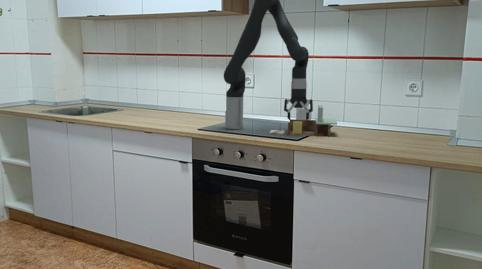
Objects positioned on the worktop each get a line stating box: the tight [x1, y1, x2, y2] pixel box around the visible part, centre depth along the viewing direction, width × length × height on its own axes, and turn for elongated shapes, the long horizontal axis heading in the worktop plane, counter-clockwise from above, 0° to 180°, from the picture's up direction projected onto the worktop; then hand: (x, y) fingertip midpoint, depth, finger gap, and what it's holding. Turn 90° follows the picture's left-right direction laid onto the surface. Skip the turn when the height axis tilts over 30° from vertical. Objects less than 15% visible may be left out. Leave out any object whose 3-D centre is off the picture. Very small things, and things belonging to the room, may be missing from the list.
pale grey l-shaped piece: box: [314, 104, 338, 126], centre depth 224 cm, size 10×13×8 cm
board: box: [268, 118, 332, 138], centre depth 227 cm, size 30×13×7 cm, turn 82°
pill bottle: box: [295, 102, 312, 120], centre depth 246 cm, size 8×8×15 cm
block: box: [293, 121, 302, 134], centre depth 227 cm, size 4×4×6 cm
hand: (298, 120), depth 226 cm, fingers open, 8 cm apart
